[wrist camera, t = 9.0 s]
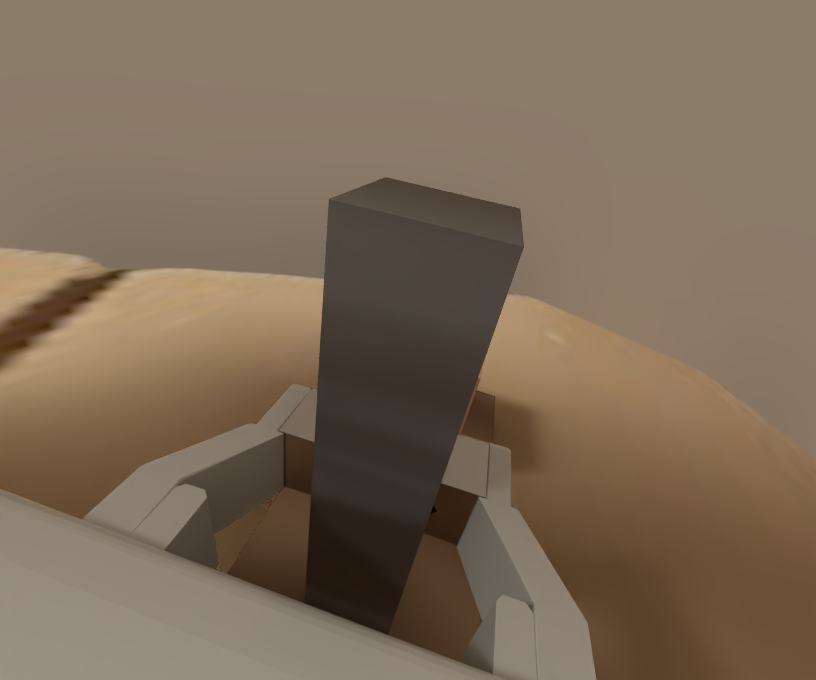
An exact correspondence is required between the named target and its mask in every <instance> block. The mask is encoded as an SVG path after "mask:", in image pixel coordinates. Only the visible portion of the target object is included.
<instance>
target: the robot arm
mask: <svg viewBox="0 0 816 680" xmlns="http://www.w3.org/2000/svg"><path fill="white" fill-rule="evenodd" d="M316 406H317V389H312V388H309V387H306V386H303V385H300V384H297V383H294V384H292V385H290V386H289V387H288V388H287V390H286V391H285V392H284V393H283V394H282V395H281V396H280V398H279V399H278V400H277V401H276V402H275V403H274V405H273V406H272V407H271V408H270V409H269V410H268V411H267V413H266V414H265V415H264V416H263V417H262V418H261V420H260V421H259V422H258V423H257V424H253V423H249V424H246V425H243V426H241V427H238V428H236V429H233V430H231V431H228V432H225V433H223V434H220V435H218V436H215V437H212V438H210V439H207V440H205V441H202V442H200V443H197V444H194V445H192V446H189V447H187V448H184V449H182V450H179V451H176V452H174V453H171V454H169V455H166V456H164V457H161V458H158V459H156V460H153V461H151V462H148V463H146V464H143V465H141V466H140V467H139V468H137V469H136V470H135V471H134V472H133V473H132V474H131V475H130V476H129V477H128V478H126V479H125V480H124V481H123V482H122V483H121V484H120V485H119V486H118V487H116V488H115V489H114V490H113V491H112V492H111V493H110V494H109V495H108V496H107V497H105V498H104V499H103V500H102V501H101V502H100V503H99V504H98V505H97V506H95V507H94V508H93V509H92V510H91V511H90V512H89V513H88V514H87V515H85V516H84V517H83V518H82V519H80V518H77V517H74V516H72V515H69V514H66V513H64V512H61V511H58V510H56V509H53V508H50V507H48V506H45V505H42V504H40V503H37V502H35V501H32V500H29V499H27V498H24V497H21V496H19V495H16V494H13V493H11V492H8V491H5V490H3V489H0V680H596V674H595V667H594V661H593V654H592V648H591V641H590V635H589V629H588V623H587V621H586V619H585V618H584V616H583V614H582V613H581V611H580V610H579V608H578V606H577V605H576V603H575V601H574V600H573V598H572V597H571V595H570V593H569V592H568V590H567V588H566V587H565V585H564V583H563V582H562V580H561V579H560V577H559V575H558V574H557V572H556V570H555V569H554V567H553V566H552V564H551V562H550V561H549V559H548V557H547V556H546V554H545V553H544V551H543V549H542V548H541V546H540V544H539V543H538V541H537V539H536V538H535V536H534V535H533V533H532V531H531V530H530V528H529V526H528V525H527V523H526V522H525V520H524V518H523V517H522V515H521V513H520V512H519V510H518V509H516V508H513V507H511V451H510V449H509V448H507V447H503V446H500V445H496V444H493V443H488V442H485V441H482V440H479V439H475V438H472V437H469V436H465V435H462V434H458V436H457V439H456V442H455V445H454V448H453V451H452V453H451V456H450V459H449V462H448V465H447V468H446V471H445V473H444V476H443V479H442V482H441V485H440V488H439V491H438V493H437V496H436V499H435V502H434V505H433V508H432V511H431V513H430V516H429V519H428V522H427V525H426V528H425V531H424V533H425V534H427V535H430V536H433V537H436V538H438V539H441V540H444V541H446V542H449V543H452V544H454V545H457V550H458V553H459V556H460V559H461V561H462V564H463V567H464V570H465V573H466V576H467V579H468V582H469V584H470V587H471V590H472V593H473V596H474V599H475V602H476V605H477V608H478V610H479V613H480V616H481V619H482V623H481V625H480V626H479V628H478V630H477V631H476V633H475V634H474V636H473V637H472V639H471V640H470V642H469V643H468V645H467V647H466V648H465V650H464V651H463V653H462V654H461V662H458V661H456V660H453V659H451V658H448V657H445V656H443V655H440V654H437V653H435V652H432V651H429V650H427V649H424V648H421V647H419V646H416V645H413V644H411V643H408V642H406V641H403V640H400V639H398V638H395V637H392V636H390V635H387V634H384V633H382V632H379V631H376V630H374V629H371V628H368V627H366V626H363V625H361V624H358V623H355V622H353V621H350V620H347V619H345V618H342V617H339V616H337V615H334V614H331V613H329V612H326V611H323V610H321V609H318V608H316V607H313V606H310V605H308V604H305V603H302V602H300V601H297V600H294V599H292V598H289V597H286V596H284V595H281V594H278V593H276V592H273V591H271V590H268V589H265V588H263V587H260V586H257V585H255V584H252V583H249V582H247V581H244V580H241V579H239V578H236V577H233V576H231V575H228V574H226V573H223V572H220V571H218V570H215V568H216V567H217V565H218V564H219V563H218V556H217V550H216V545H215V539H214V534H216V533H217V532H219V531H220V530H222V529H223V528H225V527H226V526H228V525H229V524H231V523H232V522H234V521H235V520H237V519H238V518H240V517H241V516H243V515H245V514H246V513H248V512H249V511H251V510H252V509H254V508H255V507H257V506H258V505H260V504H261V503H263V502H264V501H266V500H267V499H269V498H270V497H272V496H273V495H275V494H276V493H278V492H280V491H281V490H283V489H284V487H287V488H291V489H294V490H297V491H300V492H303V493H307V494H310V495H311V488H312V471H313V455H314V439H315V422H316Z"/></svg>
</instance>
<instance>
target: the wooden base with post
mask: <svg viewBox="0 0 816 680" xmlns="http://www.w3.org/2000/svg"><path fill="white" fill-rule="evenodd" d="M523 248H524V243H523V233H522V223H521V212H520V209H519V208H515V207H510V206H506V205H502V204H498V203H493V202H489V201H485V200H480V199H476V198H472V197H468V196H464V195H459V194H455V193H451V192H446V191H442V190H438V189H434V188H429V187H425V186H421V185H416V184H412V183H408V182H403V181H399V180H395V179H391V178H383V179H380V180H377V181H375V182H372V183H370V184H367V185H364V186H362V187H359V188H357V189H354V190H351V191H349V192H346V193H344V194H341V195H339V196H336V197H333V198H331V199H329V209H328V225H327V242H326V258H325V274H324V291H323V307H322V324H321V340H320V356H319V373H318V389H317V406H316V422H315V439H314V455H313V471H312V488H311V495H310V494H307V493H303V492H300V491H297V490H294V489H291V488H287V487H284V489H283V490H281V491H280V492H279V494H278V495H277V497H276V499H275V500H274V502H273V503H272V505H271V506H270V508H269V510H268V511H267V513H266V514H265V516H264V517H263V519H262V520H261V522H260V524H259V525H258V527H257V528H256V530H255V531H254V533H253V535H252V536H251V538H250V539H249V541H248V542H247V544H246V545H245V547H244V549H243V550H242V552H241V553H240V555H239V556H238V558H237V559H236V561H235V563H234V564H233V566H232V567H231V569H230V570H229V572H228V575H231V576H233V577H236V578H239V579H241V580H244V581H247V582H249V583H252V584H255V585H257V586H260V587H263V588H265V589H268V590H271V591H273V592H276V593H278V594H281V595H284V596H286V597H289V598H292V599H294V600H297V601H300V602H302V603H305V604H308V605H310V606H313V607H316V608H318V609H321V610H323V611H326V612H329V613H331V614H334V615H337V616H339V617H342V618H345V619H347V620H350V621H353V622H355V623H358V624H361V625H363V626H366V627H368V628H371V629H374V630H376V631H379V632H382V633H384V634H387V635H390V636H392V637H395V638H398V639H400V640H403V641H406V642H408V643H411V644H413V645H416V646H419V647H421V648H424V649H427V650H429V651H432V652H435V653H437V654H440V655H443V656H445V657H448V658H451V659H453V660H456V661H458V662H461V654H462V653H463V651H464V650H465V648H466V647H467V645H468V643H469V642H470V640H471V639H472V637H473V636H474V634H475V633H476V631H477V630H478V628H479V626H480V621H481V616H480V613H479V610H478V608H477V605H476V602H475V599H474V596H473V593H472V590H471V587H470V584H469V582H468V579H467V576H466V573H465V570H464V567H463V564H462V561H461V559H460V556H459V553H458V550H457V545H454V544H452V543H449V542H446V541H444V540H441V539H438V538H436V537H433V536H430V535H427V534H425V533H424V531H425V528H426V525H427V522H428V519H429V516H430V513H431V511H432V508H433V505H434V502H435V499H436V496H437V493H438V491H439V488H440V485H441V482H442V479H443V476H444V473H445V471H446V468H447V465H448V462H449V459H450V456H451V453H452V451H453V448H454V445H455V442H456V439H457V436H458V433H459V431H460V428H461V425H462V422H463V419H464V416H465V413H466V411H467V408H468V405H469V402H470V399H471V396H472V393H473V391H474V388H475V385H476V382H477V379H478V376H479V374H480V371H481V368H482V365H483V362H484V359H485V356H486V354H487V351H488V348H489V345H490V342H491V339H492V336H493V334H494V331H495V328H496V325H497V322H498V319H499V316H500V314H501V311H502V308H503V305H504V302H505V299H506V296H507V294H508V291H509V288H510V285H511V282H512V279H513V276H514V273H515V271H516V268H517V265H518V262H519V259H520V256H521V253H522V251H523ZM494 404H495V396H493V395H489V394H486V393H483V392H479V391H476V393H475V396H474V398H473V401H472V404H471V407H470V410H469V412H468V415H467V418H466V421H465V424H464V426H463V429H462V432H461V434H462V435H465V436H469V437H472V438H475V439H479V440H482V441H485V442H488V443H492V435H493V420H494Z"/></svg>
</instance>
